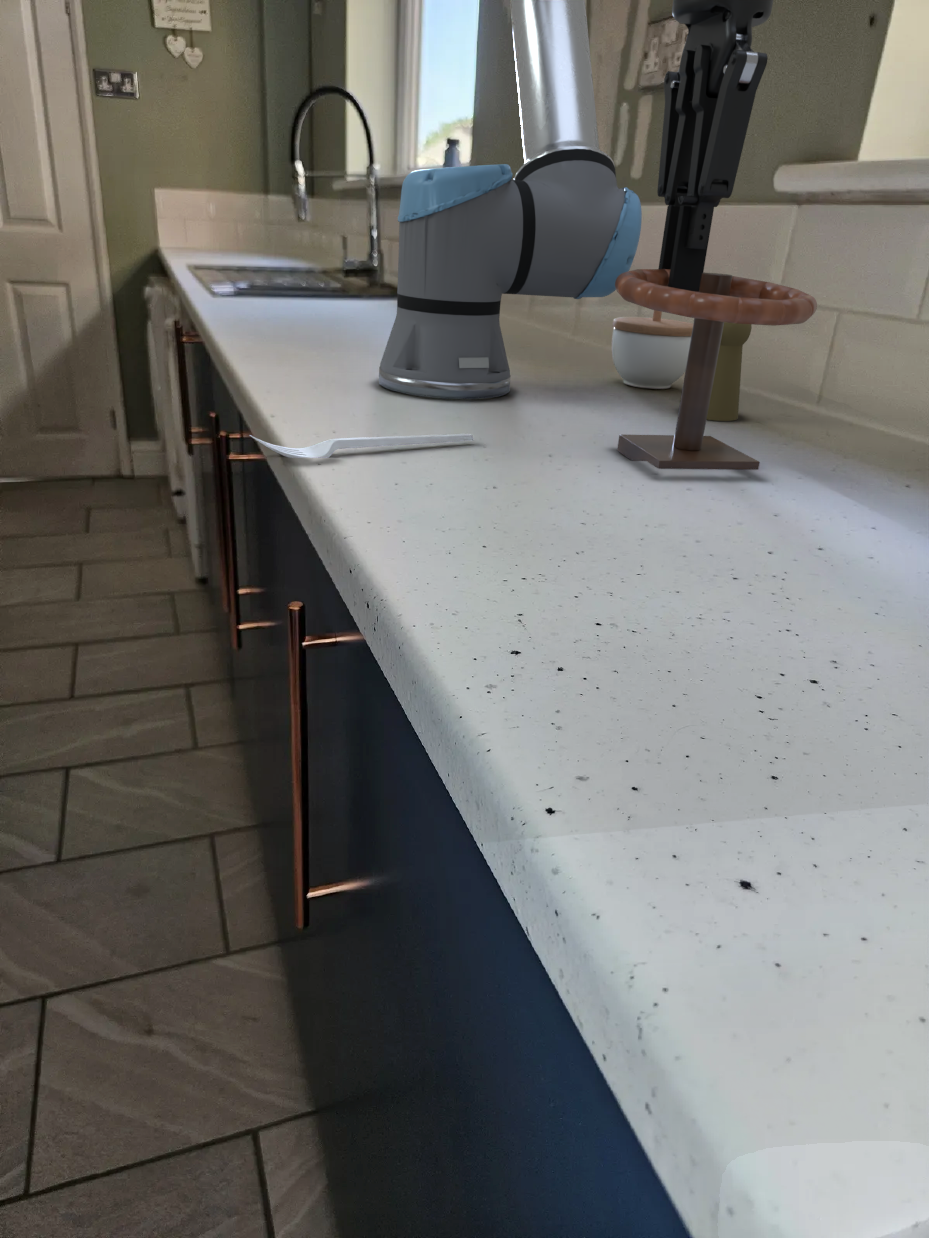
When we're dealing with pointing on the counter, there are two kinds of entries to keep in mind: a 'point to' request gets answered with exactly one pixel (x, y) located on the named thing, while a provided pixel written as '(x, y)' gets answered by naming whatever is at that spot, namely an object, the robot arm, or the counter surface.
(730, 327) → the olive pepper mill
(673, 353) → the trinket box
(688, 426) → the rail post
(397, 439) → the fork
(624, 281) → the ring
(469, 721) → the counter surface
